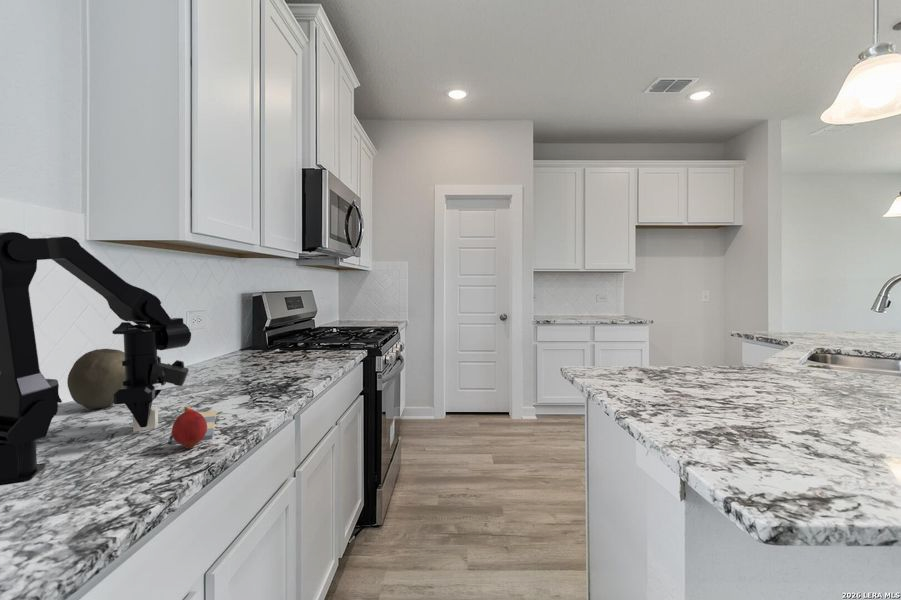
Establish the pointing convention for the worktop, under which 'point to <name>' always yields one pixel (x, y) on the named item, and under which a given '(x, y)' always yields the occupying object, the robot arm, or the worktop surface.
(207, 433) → the track
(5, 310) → the robot arm
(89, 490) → the worktop surface
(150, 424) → the die
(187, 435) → the onion
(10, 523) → the worktop surface
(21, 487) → the worktop surface
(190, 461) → the worktop surface
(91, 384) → the cantaloupe
